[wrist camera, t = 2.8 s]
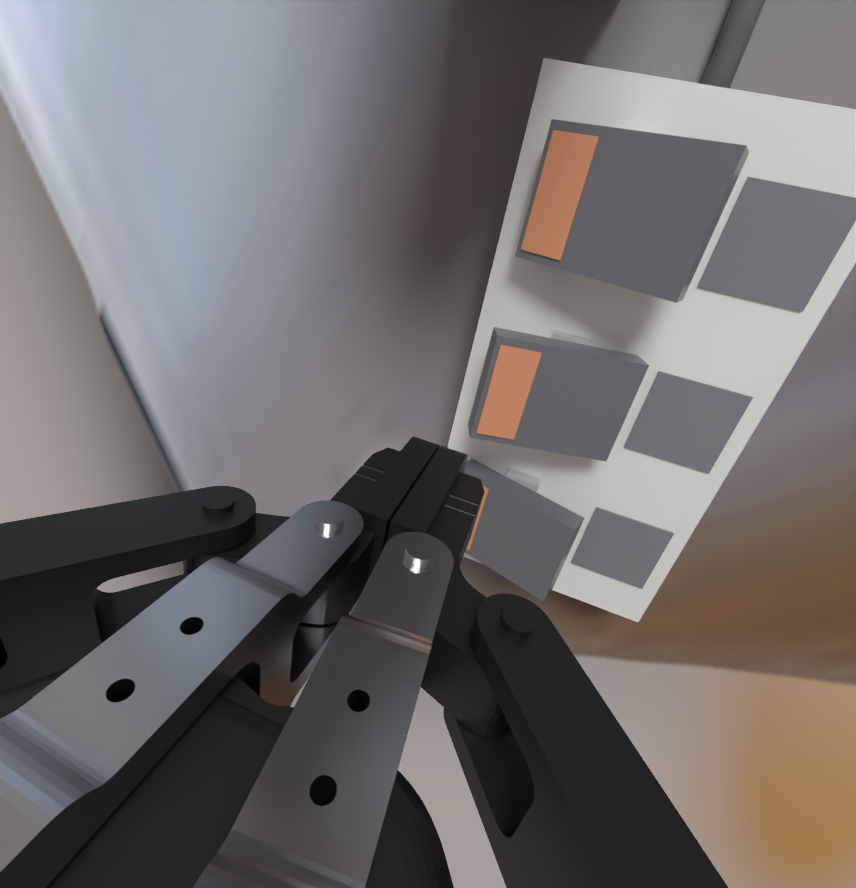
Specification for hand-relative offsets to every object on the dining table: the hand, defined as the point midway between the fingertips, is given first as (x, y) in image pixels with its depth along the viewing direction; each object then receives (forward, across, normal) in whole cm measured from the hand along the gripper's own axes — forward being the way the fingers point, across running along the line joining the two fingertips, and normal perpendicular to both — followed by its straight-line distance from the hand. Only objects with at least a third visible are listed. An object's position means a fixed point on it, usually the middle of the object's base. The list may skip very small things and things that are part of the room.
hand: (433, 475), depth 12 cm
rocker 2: (+9, -2, 0) cm, 9 cm away
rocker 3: (+9, -2, +7) cm, 11 cm away
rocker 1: (+9, -2, -7) cm, 11 cm away
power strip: (+14, -5, -3) cm, 15 cm away
